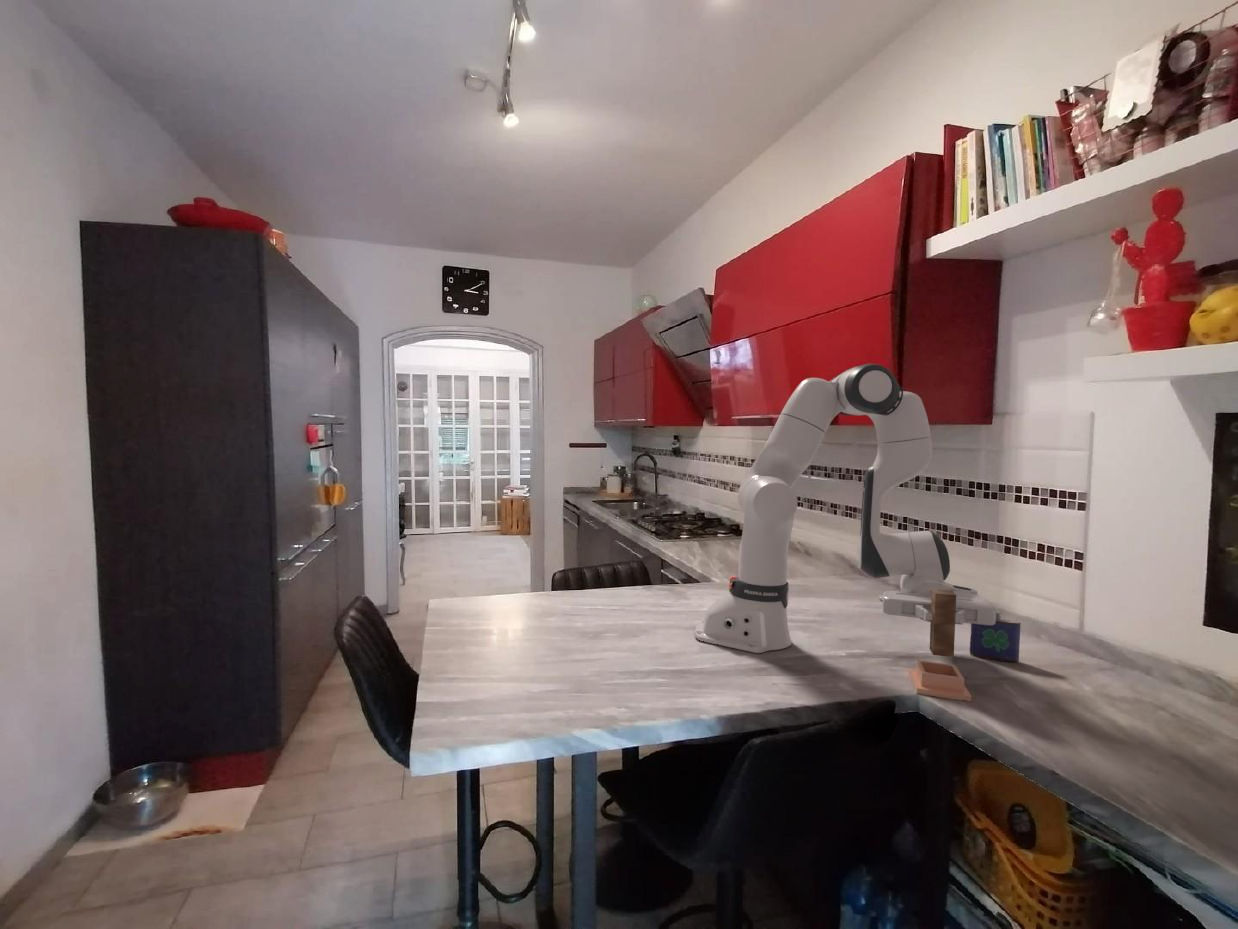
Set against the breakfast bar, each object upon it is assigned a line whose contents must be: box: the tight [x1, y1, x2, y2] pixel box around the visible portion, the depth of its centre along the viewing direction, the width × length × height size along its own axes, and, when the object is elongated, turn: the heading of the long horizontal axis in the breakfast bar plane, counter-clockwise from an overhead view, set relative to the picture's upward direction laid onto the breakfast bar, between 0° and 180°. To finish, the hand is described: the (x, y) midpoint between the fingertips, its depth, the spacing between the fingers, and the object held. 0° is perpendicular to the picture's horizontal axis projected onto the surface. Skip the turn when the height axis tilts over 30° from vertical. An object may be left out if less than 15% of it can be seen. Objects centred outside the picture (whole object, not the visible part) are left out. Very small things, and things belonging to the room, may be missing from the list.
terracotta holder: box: [907, 659, 973, 702], centre depth 110 cm, size 9×10×4 cm
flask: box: [969, 610, 1022, 664], centre depth 126 cm, size 9×3×11 cm, turn 63°
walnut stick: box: [929, 589, 956, 658], centre depth 109 cm, size 4×4×12 cm
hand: (943, 618), depth 109 cm, fingers closed on walnut stick, 3 cm apart
